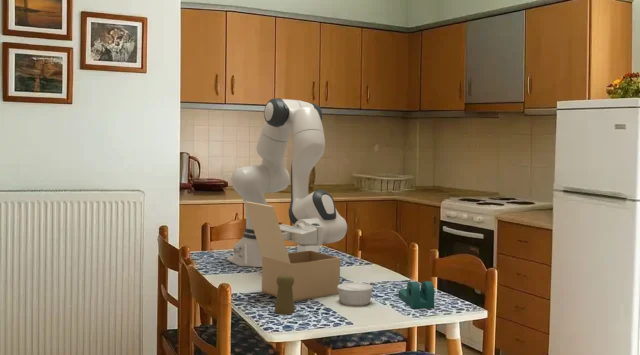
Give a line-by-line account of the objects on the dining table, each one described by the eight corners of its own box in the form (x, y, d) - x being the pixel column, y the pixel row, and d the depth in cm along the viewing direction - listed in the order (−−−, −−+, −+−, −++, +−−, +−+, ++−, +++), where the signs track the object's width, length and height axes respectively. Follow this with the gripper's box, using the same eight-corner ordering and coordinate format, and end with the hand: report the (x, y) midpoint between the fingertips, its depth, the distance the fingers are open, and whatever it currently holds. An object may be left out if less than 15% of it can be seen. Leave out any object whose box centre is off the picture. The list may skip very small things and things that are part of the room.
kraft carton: (261, 292, 235) (262, 256, 234) (309, 284, 247) (310, 250, 246) (290, 302, 222) (291, 264, 222) (339, 293, 235) (340, 257, 234)
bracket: (433, 309, 219) (434, 283, 218) (412, 309, 218) (413, 284, 217) (415, 295, 237) (416, 271, 236) (396, 295, 236) (396, 272, 235)
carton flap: (262, 254, 234) (261, 255, 233) (246, 201, 228) (244, 201, 228) (290, 262, 222) (289, 263, 222) (273, 206, 216) (272, 206, 216)
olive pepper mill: (299, 311, 211) (299, 275, 210) (283, 315, 207) (284, 277, 206) (285, 307, 215) (286, 271, 215) (270, 311, 211) (270, 274, 210)
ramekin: (334, 305, 220) (335, 289, 219) (338, 297, 231) (339, 281, 230) (371, 308, 218) (371, 291, 218) (373, 299, 229) (374, 283, 229)
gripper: (286, 219, 242) (252, 222, 233) (325, 226, 226) (290, 229, 217) (286, 237, 242) (252, 241, 234) (324, 246, 227) (290, 250, 218)
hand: (271, 235), depth 225 cm, fingers open, 2 cm apart
